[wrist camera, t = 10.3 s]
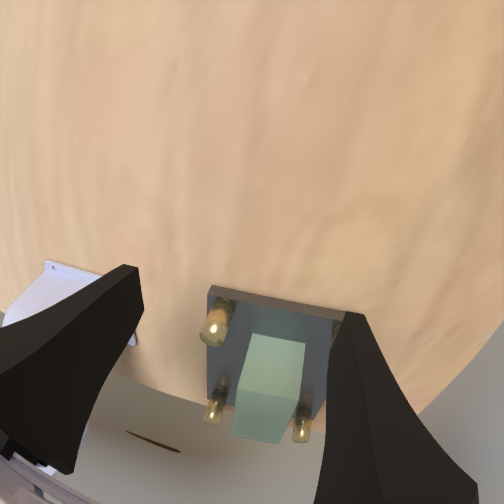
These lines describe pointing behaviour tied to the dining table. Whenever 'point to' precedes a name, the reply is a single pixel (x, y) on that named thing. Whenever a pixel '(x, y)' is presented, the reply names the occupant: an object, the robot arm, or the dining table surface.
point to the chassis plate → (272, 325)
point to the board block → (268, 388)
